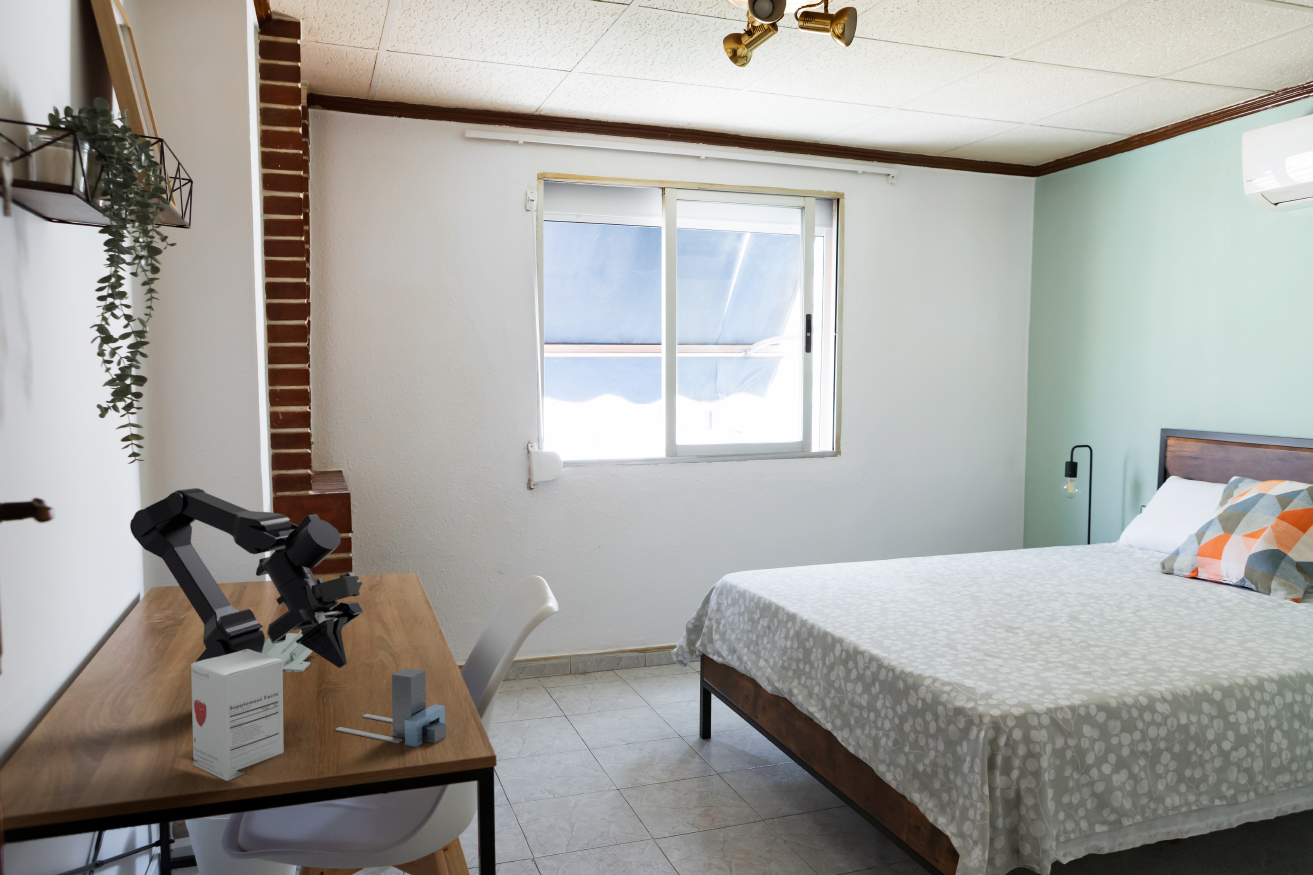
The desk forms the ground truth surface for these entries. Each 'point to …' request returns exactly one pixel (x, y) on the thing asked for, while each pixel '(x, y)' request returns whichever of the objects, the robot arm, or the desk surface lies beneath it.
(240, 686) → the supplement box
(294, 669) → the metal bracket
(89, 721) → the desk surface
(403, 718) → the tall gray pillar
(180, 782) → the desk surface
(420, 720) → the blue gray railed fixture
